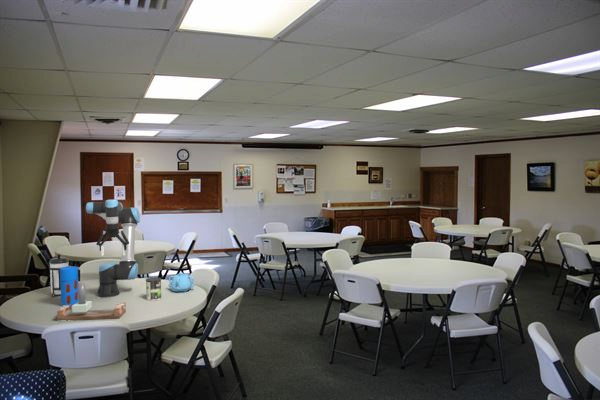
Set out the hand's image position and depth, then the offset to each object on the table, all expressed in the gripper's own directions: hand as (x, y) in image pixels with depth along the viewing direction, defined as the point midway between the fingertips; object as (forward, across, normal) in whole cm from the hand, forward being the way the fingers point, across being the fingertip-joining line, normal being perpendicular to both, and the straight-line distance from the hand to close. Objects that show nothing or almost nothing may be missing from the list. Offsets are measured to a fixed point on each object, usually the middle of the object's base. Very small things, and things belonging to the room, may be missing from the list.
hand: (113, 255), depth 299 cm
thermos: (+35, -33, +12) cm, 50 cm away
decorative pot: (+35, +37, +40) cm, 65 cm away
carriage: (+30, -14, -18) cm, 38 cm away
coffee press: (+35, -50, +39) cm, 72 cm away
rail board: (+35, -8, -18) cm, 40 cm away
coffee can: (+35, +21, +19) cm, 45 cm away
